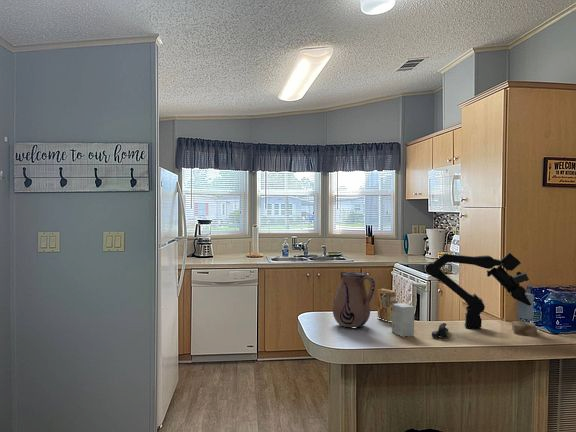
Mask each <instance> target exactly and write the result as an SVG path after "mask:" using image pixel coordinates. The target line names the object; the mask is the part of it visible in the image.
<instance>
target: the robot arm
mask: <svg viewBox="0 0 576 432" xmlns="http://www.w3.org/2000/svg"><path fill="white" fill-rule="evenodd" d="M447 263H453V264H454V263H455V264H464V265H474V266H477V267H479V268H483V269H487V270H486V276H487V277H488V278H489V277H491V276H492V277H493V278H494V279H495V280H497V282H498V283H499V284H500V285H501V286H502V287H503V288H504V289H505V291H507V293H509V295H510V296H511V297H512V298H513V299H514V300H517V302H518V301H520V302H522V303H525V304H527V305H529V306H530V305H531V303H530V302H529V300H528V299H527V297H526V296H525V293H526V289H525V288H524V287H523V286H522V285H521V284H520V283H523V282H529V281H530V279H529V277H528V275H527V272H521V271H516V274H515V275H514V276H513V275H511V274H509V273H508V271H511V272H512V271H514V270H515V269H516V268H517V267H518V266H520V265H521V264H522V262H521V261H520V260H519V259H518V258H517V257H516V256H514V255H513V254H512V253H511V252H508V253H507V254H506V255H505V256H504V257H503V258H501V259H498V258H497V259H496V258H493V257H492V256H490V255H477V256H469V255H461V254H450V253H443V254H442V255H441V256H440V257H439V258H437V259H435V260H434V261H433V262H428V263H427V265H426V268H425V270H426V271H425V272H426V273H427V274H428V275H429V276H430V277H432V278H435V279H436V280H438V281H440V282H442V284H444V285H445V286H446V287H448V289H450V290H452V291H453V292H454V293H455V294H456V295H457V296H459V297H460V298H461V299H462V300H463V301H464V302H465V303H466V304H467V305H468V306H466V307H465V311H466V313H465V314H464V317H465V318H464V321H465V322H464V327H465V329H472V330H473V329H474V330H481V329H482V318H481V313H483V312H484V311H485V309H486V308H485V307H486V306H485V304H484V302H483V299H482V298H481V297H479V296H478V295H477V294H476V293H473V294H471V293H469V292H468V291H466V290H465V289H464V288H463V287H461V286H460V284H458V283H457V282H456V281H454V280H453V279H452V278H450V277H449V276H448V275H447V274H446V273H445V272H444V271H443V270H442V268H443V267H444V266H445V265H446V264H447Z"/></svg>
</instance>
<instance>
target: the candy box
mask: <svg viewBox="0 0 576 432" xmlns="http://www.w3.org/2000/svg"><path fill="white" fill-rule="evenodd" d="M393 304H397V291H396V290H391V289H387V288H379V289H377V318H378V317H379V318H381V319H384V320H387V321H392V306H393Z"/></svg>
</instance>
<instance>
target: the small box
mask: <svg viewBox="0 0 576 432" xmlns="http://www.w3.org/2000/svg"><path fill="white" fill-rule="evenodd" d="M392 332H394V333H396V334H395V335H397V334H398V335H397V336H399V335H400V336H399V337H401V336H402V337H401V338H406V337H405V336H408V337H414V336H415V306H413V305H411V304H407V303H404V302H402V303H396V304H393V306H392V323H391V333H392ZM394 333H393V334H394Z"/></svg>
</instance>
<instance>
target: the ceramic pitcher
mask: <svg viewBox="0 0 576 432" xmlns="http://www.w3.org/2000/svg"><path fill="white" fill-rule="evenodd" d="M366 280H368V281H369V283H370V288H369V293H368V292H367V289H366V285H365V281H366ZM339 281H340V282H339V284H338V286H337V290H336V293H335V296H334V300H333V304H332V315H333V317H334V320H335V322H336V323H337V324H338V325H339V326H340V327H342V326H345V327H360V328H362V327H363V326H365V324H366V323H367V322H368V320H369V319H370V315H371V304H370V302H371V300H372V298H373V295H374V293H375V289H376V288H375V287H376V283H375V280H374V278H373V277H372V276H370V275H368V274H367V273H365V272H360V271H359V272H357V271H350V272H346V271H340V280H339ZM345 327H344V328H345Z"/></svg>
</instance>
